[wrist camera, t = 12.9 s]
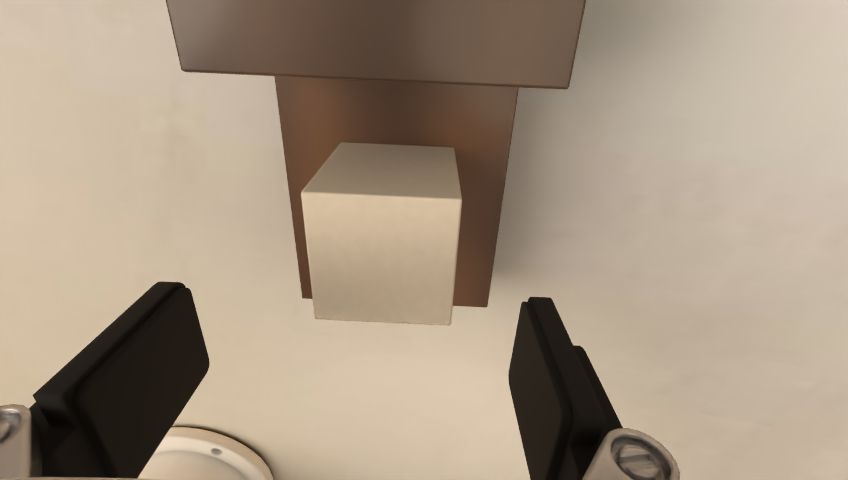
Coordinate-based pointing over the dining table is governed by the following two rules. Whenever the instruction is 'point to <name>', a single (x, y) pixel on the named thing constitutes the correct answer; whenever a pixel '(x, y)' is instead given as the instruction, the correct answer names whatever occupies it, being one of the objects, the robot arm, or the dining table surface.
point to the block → (384, 233)
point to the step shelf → (393, 87)
